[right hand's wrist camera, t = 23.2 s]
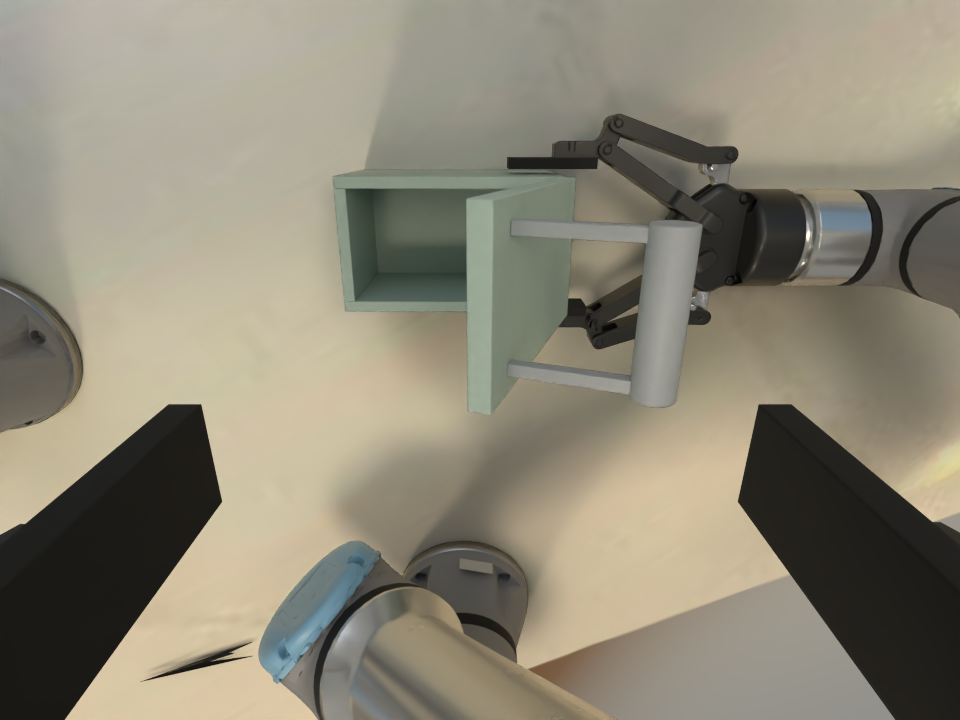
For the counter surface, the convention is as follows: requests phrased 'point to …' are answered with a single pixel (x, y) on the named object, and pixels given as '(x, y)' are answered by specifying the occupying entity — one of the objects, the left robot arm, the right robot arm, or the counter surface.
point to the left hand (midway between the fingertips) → (506, 238)
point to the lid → (566, 294)
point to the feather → (203, 663)
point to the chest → (411, 235)
